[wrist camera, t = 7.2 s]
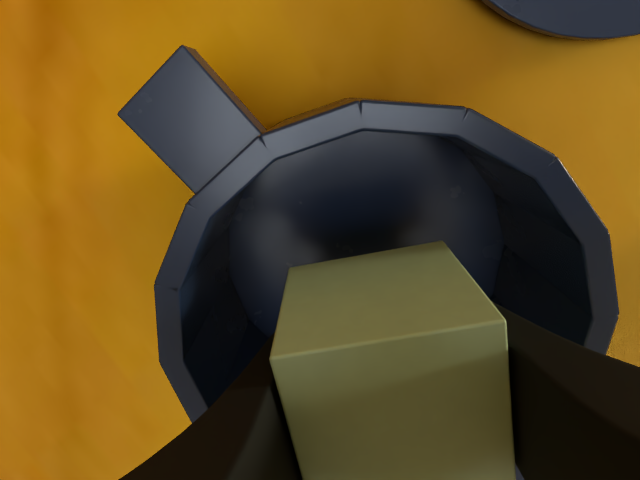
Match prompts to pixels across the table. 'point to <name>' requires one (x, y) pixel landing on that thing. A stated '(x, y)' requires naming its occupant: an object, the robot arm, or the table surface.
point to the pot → (352, 215)
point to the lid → (573, 17)
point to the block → (394, 369)
